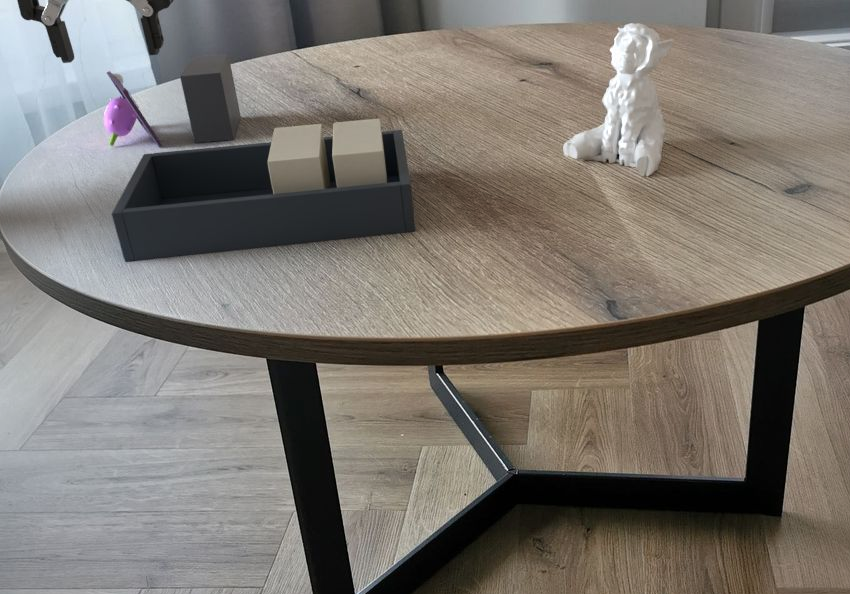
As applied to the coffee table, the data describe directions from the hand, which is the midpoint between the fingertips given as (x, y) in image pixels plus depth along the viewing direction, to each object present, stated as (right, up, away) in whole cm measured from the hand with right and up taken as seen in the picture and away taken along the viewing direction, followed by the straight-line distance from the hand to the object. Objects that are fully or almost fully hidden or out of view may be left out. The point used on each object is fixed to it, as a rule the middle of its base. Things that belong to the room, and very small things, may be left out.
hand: (112, 57), depth 97 cm
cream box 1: (+23, -18, -16) cm, 33 cm away
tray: (+21, -19, -16) cm, 32 cm away
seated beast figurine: (+51, -12, -7) cm, 53 cm away
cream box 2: (+28, -17, -16) cm, 36 cm away
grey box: (+9, -6, +6) cm, 12 cm away
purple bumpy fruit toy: (0, -8, +5) cm, 9 cm away
